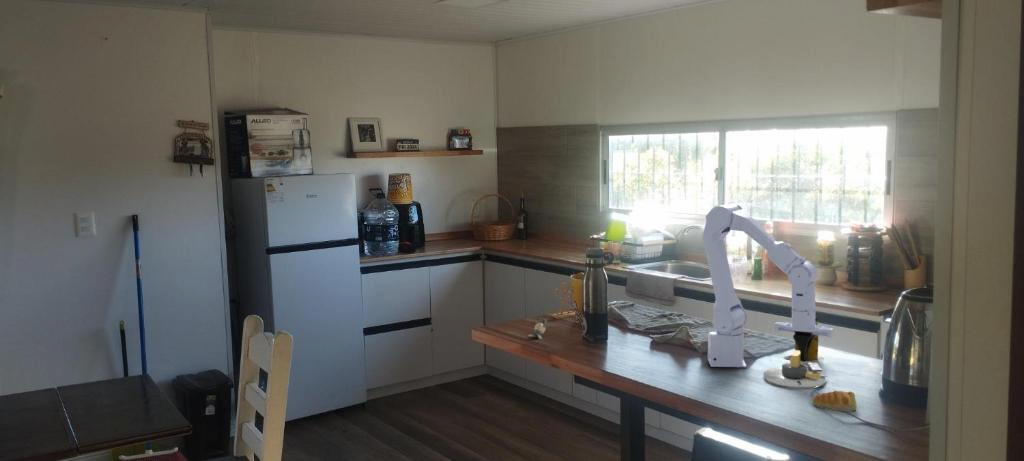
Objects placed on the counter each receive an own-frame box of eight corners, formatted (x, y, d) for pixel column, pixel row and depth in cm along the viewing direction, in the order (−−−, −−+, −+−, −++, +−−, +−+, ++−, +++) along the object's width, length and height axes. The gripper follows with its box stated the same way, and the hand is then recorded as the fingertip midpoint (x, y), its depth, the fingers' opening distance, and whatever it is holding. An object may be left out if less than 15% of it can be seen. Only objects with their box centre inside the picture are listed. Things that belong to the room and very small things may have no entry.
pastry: (815, 411, 180) (815, 394, 179) (810, 401, 186) (810, 385, 186) (858, 413, 178) (859, 396, 177) (852, 403, 184) (852, 387, 184)
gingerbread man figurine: (573, 313, 279) (572, 280, 277) (579, 315, 275) (578, 282, 274) (551, 316, 275) (551, 283, 273) (557, 319, 271) (556, 285, 270)
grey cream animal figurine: (538, 333, 253) (539, 315, 252) (551, 337, 250) (552, 319, 249) (527, 336, 249) (528, 318, 248) (540, 340, 246) (541, 322, 245)
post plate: (769, 388, 195) (769, 375, 194) (759, 369, 210) (759, 358, 209) (834, 389, 193) (835, 376, 192) (819, 371, 207) (820, 358, 207)
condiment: (824, 358, 218) (825, 316, 217) (805, 364, 214) (806, 321, 212) (802, 352, 224) (803, 312, 223) (783, 358, 220) (784, 316, 218)
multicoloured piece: (817, 381, 195) (817, 361, 194) (779, 375, 200) (779, 356, 199) (823, 372, 202) (824, 353, 201) (786, 367, 207) (787, 349, 206)
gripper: (837, 309, 200) (837, 360, 201) (781, 303, 209) (782, 352, 211) (828, 314, 194) (828, 367, 196) (771, 308, 204) (771, 359, 205)
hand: (803, 360), depth 203 cm, fingers closed, pressing on multicoloured piece
